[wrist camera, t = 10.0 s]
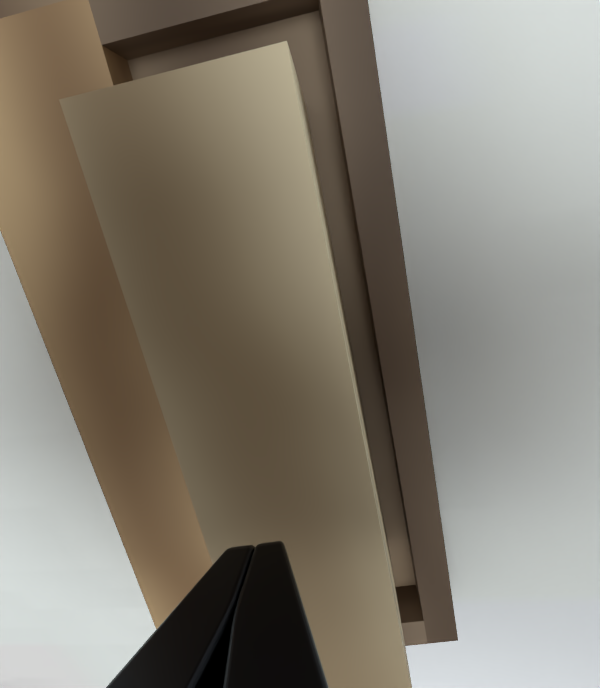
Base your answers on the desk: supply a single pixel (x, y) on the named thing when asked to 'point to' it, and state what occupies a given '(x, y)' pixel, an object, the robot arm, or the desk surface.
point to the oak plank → (248, 332)
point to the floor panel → (351, 236)
